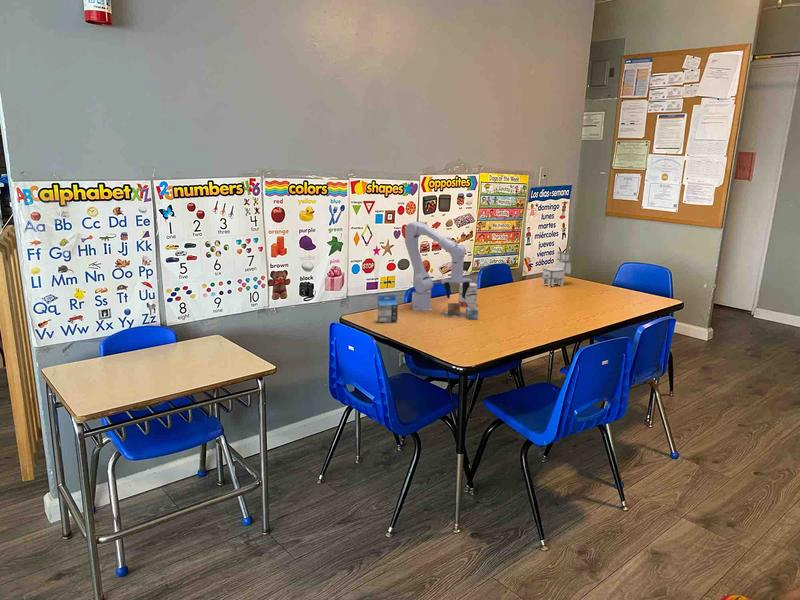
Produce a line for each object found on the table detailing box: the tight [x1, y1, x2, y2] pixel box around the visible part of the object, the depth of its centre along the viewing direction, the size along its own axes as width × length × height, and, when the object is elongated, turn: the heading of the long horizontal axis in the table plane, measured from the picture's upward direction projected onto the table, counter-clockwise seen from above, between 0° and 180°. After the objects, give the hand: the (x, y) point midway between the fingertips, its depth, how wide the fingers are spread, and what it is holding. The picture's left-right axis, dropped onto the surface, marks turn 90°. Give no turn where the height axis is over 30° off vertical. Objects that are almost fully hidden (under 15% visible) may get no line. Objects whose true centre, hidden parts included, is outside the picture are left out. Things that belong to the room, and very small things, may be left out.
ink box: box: [457, 282, 478, 308], centre depth 308 cm, size 8×5×12 cm, turn 99°
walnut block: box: [447, 302, 461, 316], centre depth 292 cm, size 5×5×5 cm
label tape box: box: [377, 294, 399, 323], centre depth 277 cm, size 9×4×12 cm, turn 105°
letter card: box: [441, 311, 466, 318], centre depth 293 cm, size 10×10×1 cm
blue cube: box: [464, 306, 479, 321], centre depth 286 cm, size 5×5×5 cm
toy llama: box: [541, 250, 573, 286], centre depth 361 cm, size 8×18×20 cm, turn 117°
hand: (455, 297), depth 291 cm, fingers open, 7 cm apart
